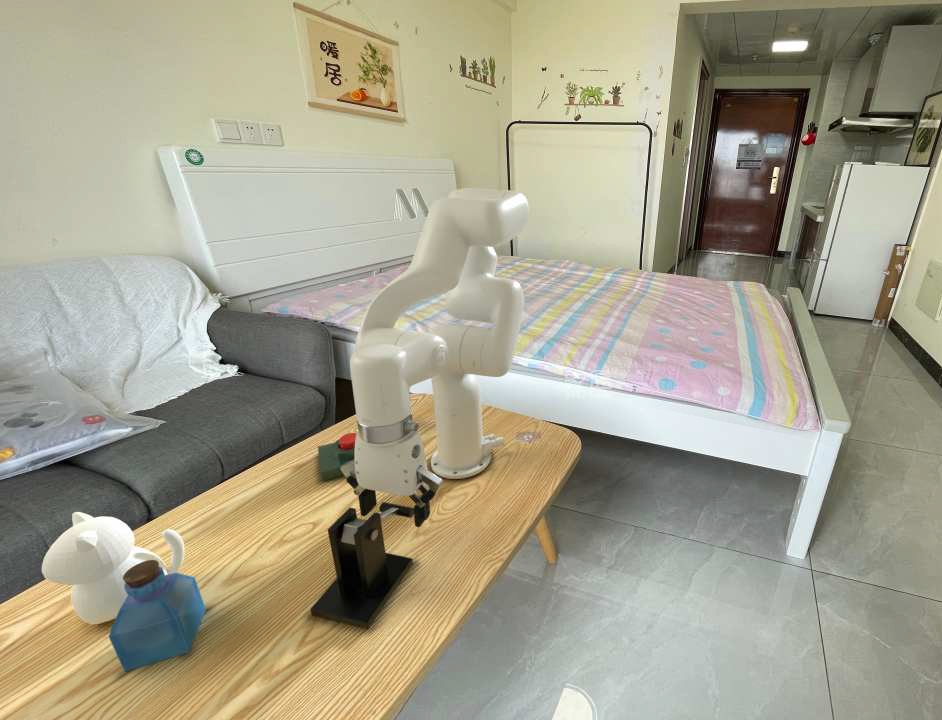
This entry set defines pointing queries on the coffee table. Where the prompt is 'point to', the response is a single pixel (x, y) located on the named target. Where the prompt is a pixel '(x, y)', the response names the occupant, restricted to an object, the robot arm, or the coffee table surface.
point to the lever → (387, 513)
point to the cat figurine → (101, 563)
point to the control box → (333, 460)
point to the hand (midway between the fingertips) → (395, 515)
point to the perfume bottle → (156, 616)
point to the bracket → (360, 574)
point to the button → (347, 441)
